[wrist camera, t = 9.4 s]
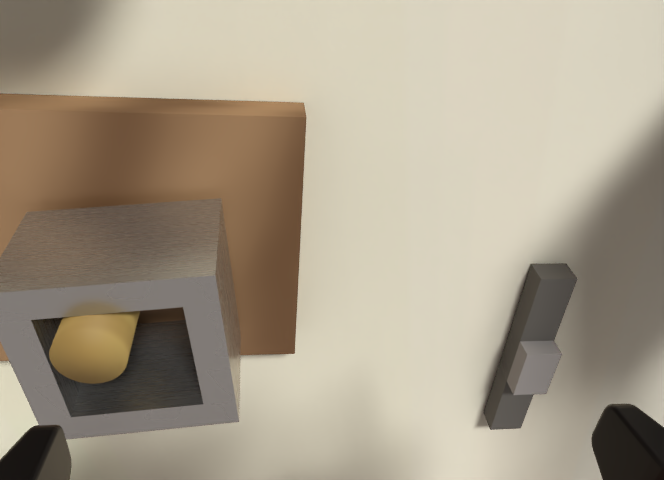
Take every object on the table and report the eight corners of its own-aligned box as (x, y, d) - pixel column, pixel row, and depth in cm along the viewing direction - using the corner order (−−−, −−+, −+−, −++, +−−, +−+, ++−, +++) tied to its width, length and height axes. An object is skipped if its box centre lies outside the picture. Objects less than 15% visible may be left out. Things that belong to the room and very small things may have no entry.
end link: (221, 198, 19) (215, 275, 16) (240, 335, 22) (238, 421, 19) (27, 212, 18) (-22, 294, 15) (77, 349, 22) (46, 441, 19)
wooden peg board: (303, 102, 19) (320, 199, 14) (293, 332, 25) (302, 462, 20) (-101, 90, 18) (-247, 194, 12) (-15, 339, 23) (-92, 480, 18)
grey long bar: (566, 263, 24) (586, 291, 23) (513, 411, 29) (526, 442, 28) (531, 264, 24) (549, 292, 22) (483, 412, 29) (496, 443, 27)
